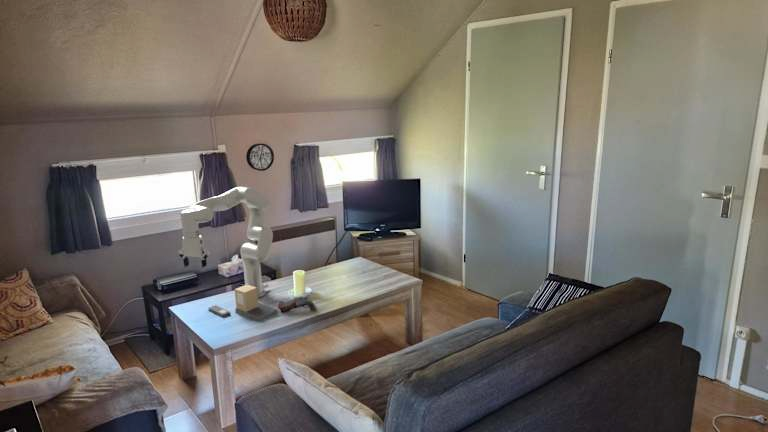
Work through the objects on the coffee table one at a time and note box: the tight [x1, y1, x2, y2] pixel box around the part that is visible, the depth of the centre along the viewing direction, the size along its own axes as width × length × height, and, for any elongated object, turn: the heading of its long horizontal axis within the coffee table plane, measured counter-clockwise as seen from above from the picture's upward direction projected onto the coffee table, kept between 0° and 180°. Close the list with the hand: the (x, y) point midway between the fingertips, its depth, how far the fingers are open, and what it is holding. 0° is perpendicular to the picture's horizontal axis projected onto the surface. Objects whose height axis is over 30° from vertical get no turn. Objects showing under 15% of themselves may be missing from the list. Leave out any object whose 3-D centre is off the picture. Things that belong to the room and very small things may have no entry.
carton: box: [234, 284, 259, 312], centre depth 261 cm, size 8×8×11 cm
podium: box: [235, 302, 279, 323], centre depth 261 cm, size 12×20×2 cm, turn 53°
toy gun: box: [277, 296, 318, 314], centre depth 262 cm, size 4×20×10 cm, turn 95°
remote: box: [208, 304, 231, 318], centre depth 262 cm, size 14×4×2 cm, turn 50°
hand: (195, 266), depth 249 cm, fingers open, 9 cm apart
